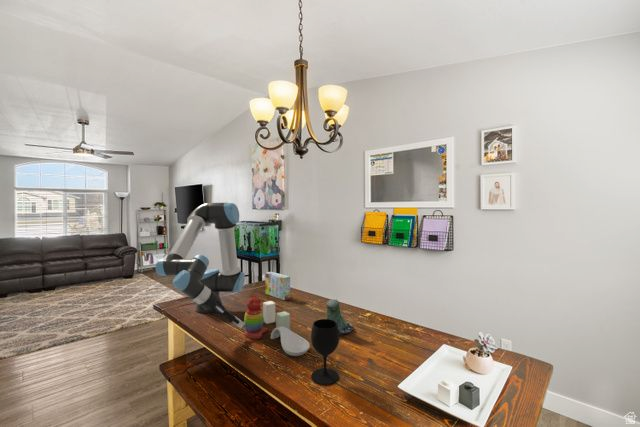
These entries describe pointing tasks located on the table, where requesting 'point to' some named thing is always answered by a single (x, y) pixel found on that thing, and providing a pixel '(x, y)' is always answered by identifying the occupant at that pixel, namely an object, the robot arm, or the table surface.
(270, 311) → the off-white block
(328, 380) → the wine glass
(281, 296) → the snack box
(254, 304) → the stacking bear
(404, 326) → the table surface
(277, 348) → the table surface
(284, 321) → the sage-green block
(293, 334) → the spoon rest
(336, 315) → the tree stump
